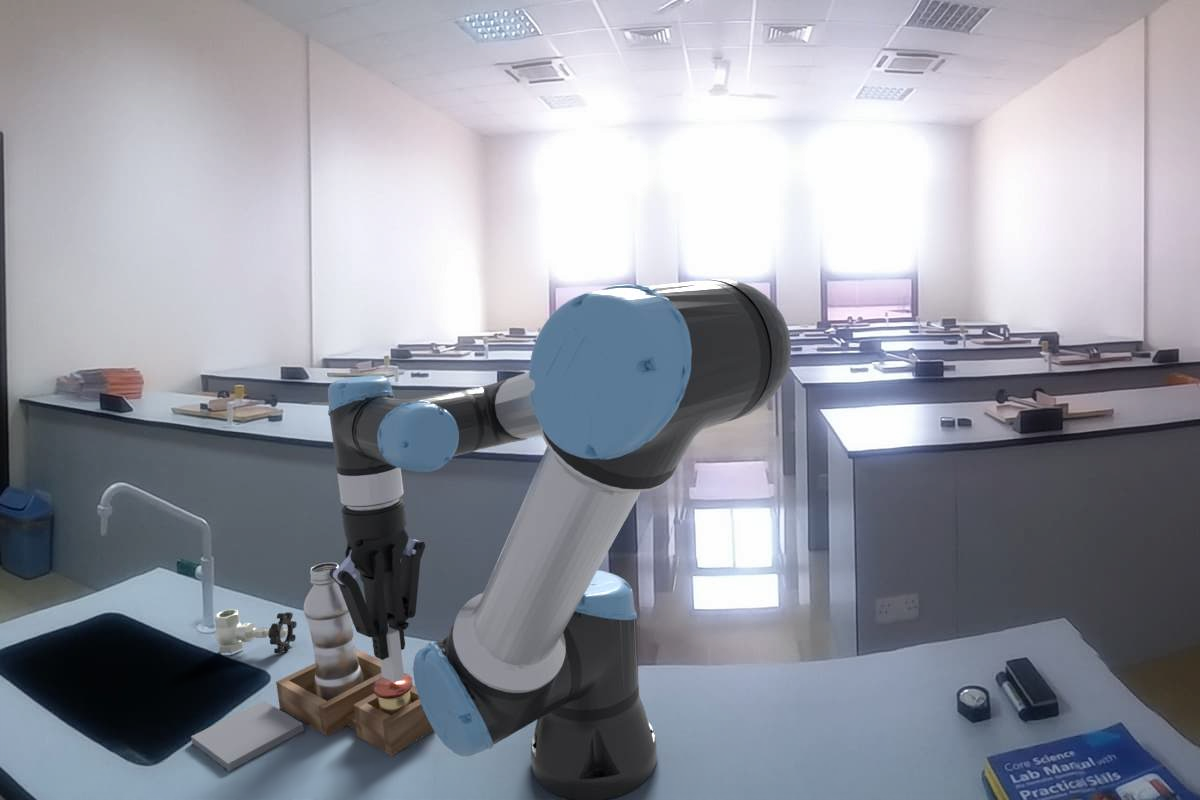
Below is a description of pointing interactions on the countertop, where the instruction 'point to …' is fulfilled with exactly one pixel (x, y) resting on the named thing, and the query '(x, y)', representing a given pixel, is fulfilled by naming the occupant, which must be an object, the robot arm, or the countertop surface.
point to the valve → (251, 631)
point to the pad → (246, 734)
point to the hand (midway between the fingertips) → (393, 677)
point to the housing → (354, 708)
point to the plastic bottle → (331, 635)
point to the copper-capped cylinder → (393, 694)
